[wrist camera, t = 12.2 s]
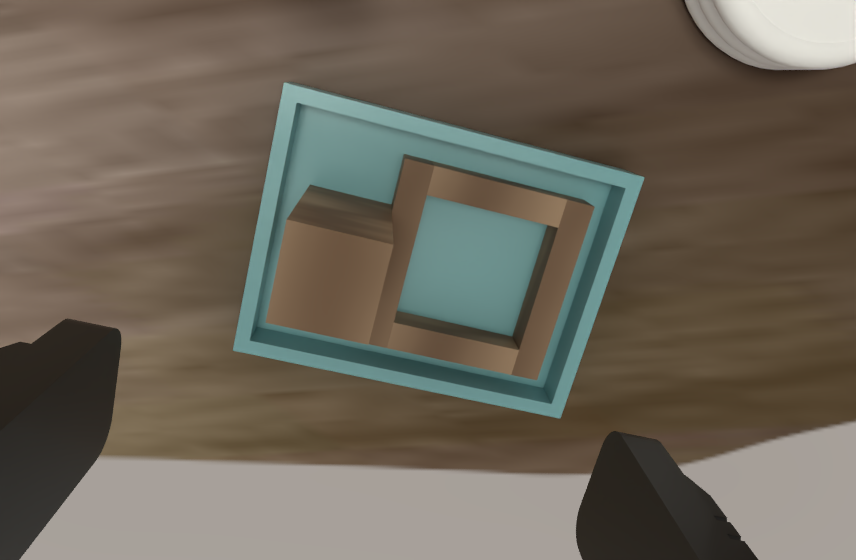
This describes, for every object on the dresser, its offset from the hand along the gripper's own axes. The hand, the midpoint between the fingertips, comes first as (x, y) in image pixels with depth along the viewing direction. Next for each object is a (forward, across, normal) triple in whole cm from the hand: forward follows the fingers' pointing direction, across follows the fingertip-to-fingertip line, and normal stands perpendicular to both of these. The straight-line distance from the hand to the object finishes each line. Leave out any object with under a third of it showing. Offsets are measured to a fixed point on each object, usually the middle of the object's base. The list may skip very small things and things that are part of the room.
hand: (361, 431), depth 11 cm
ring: (+18, -3, +1) cm, 19 cm away
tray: (+19, -2, +1) cm, 19 cm away
